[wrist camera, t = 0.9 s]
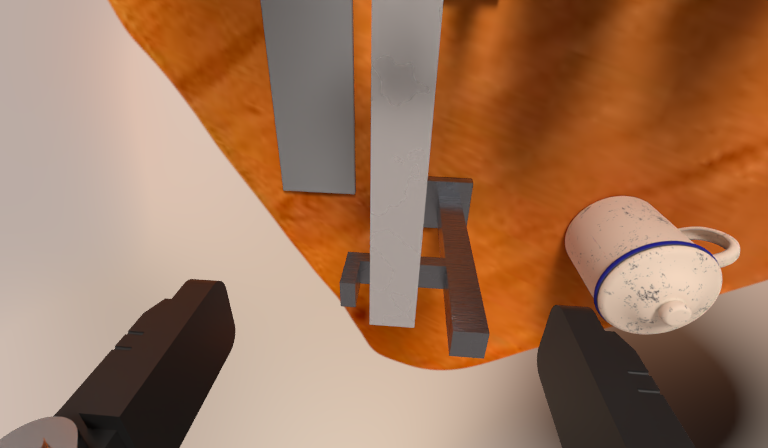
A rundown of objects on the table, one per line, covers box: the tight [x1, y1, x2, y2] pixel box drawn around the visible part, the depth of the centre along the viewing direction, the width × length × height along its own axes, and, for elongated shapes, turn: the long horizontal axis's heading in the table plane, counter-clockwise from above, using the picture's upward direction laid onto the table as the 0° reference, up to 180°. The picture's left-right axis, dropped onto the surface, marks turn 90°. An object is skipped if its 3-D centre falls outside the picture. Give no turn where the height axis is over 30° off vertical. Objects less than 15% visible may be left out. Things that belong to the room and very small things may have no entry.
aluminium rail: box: [370, 0, 443, 328], centre depth 21 cm, size 24×3×3 cm, turn 179°
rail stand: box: [340, 176, 489, 358], centre depth 25 cm, size 25×10×18 cm, turn 179°
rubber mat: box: [261, 0, 356, 194], centre depth 31 cm, size 25×7×1 cm, turn 179°
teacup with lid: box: [565, 196, 740, 334], centre depth 32 cm, size 12×9×12 cm
